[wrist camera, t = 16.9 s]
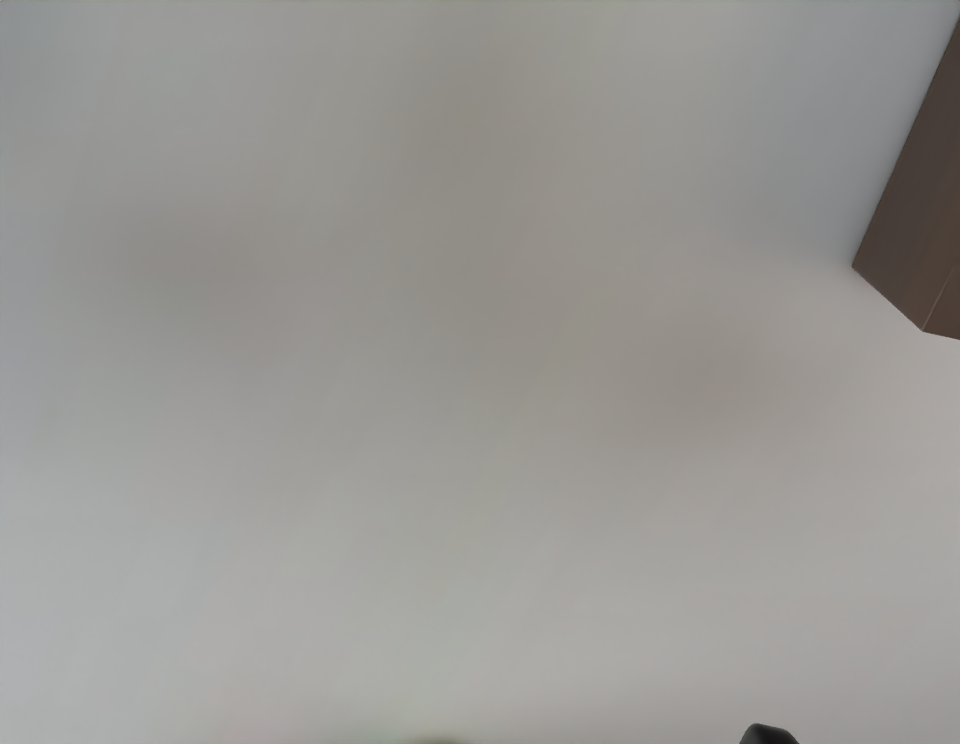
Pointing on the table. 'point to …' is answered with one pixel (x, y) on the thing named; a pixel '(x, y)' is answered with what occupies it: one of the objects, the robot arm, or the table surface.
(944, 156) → the knife
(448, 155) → the table surface
